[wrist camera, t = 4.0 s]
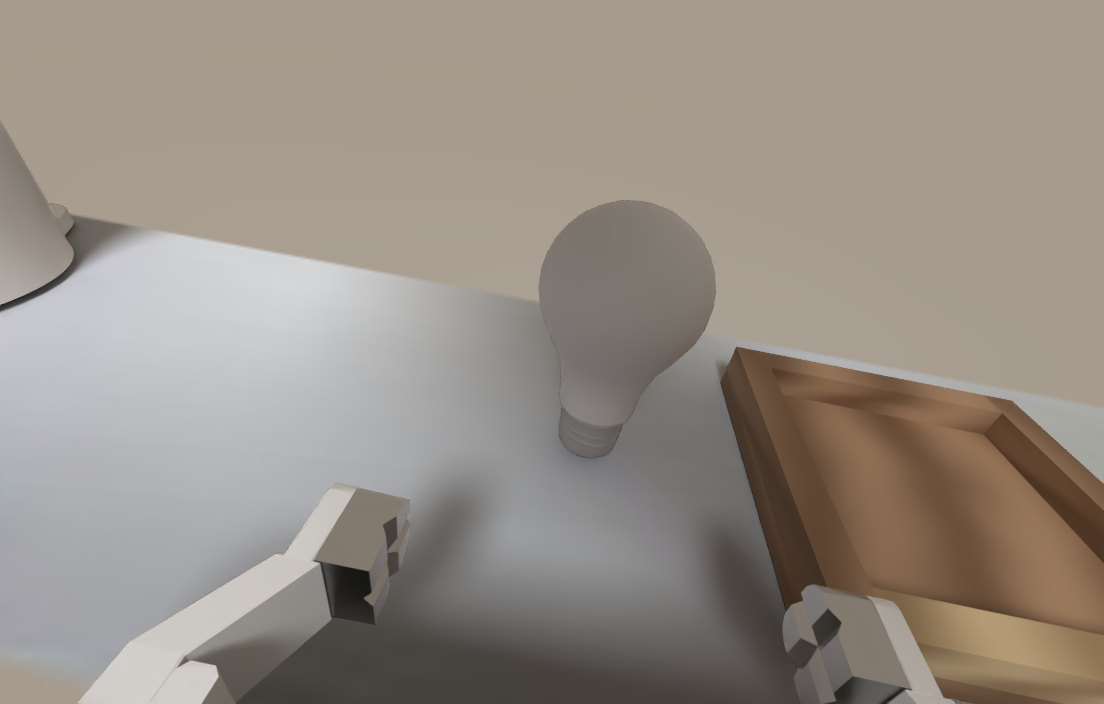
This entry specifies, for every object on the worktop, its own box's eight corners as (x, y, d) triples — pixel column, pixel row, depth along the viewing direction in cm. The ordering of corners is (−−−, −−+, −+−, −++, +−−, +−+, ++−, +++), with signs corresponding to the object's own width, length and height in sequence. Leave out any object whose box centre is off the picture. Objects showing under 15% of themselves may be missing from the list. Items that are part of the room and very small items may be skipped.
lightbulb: (606, 395, 25) (665, 179, 19) (678, 483, 20) (786, 239, 14) (496, 416, 22) (523, 174, 16) (550, 523, 18) (617, 245, 12)
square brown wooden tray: (803, 667, 15) (841, 626, 13) (720, 382, 27) (736, 346, 26) (1294, 771, 14) (1386, 740, 13) (981, 434, 27) (1011, 400, 25)
